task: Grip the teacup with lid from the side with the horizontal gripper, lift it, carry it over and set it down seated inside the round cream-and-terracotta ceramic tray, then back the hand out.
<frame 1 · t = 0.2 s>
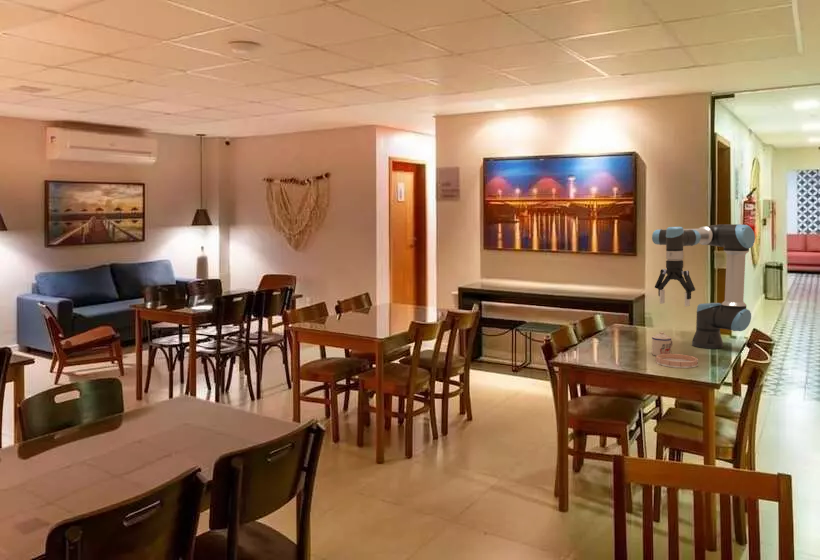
hand: (674, 304, 316), 27 cm above the table, tool pointing down, fingers open, 13 cm apart
teacup with lid: (663, 355, 333), on the table
round tray: (676, 363, 314), on the table
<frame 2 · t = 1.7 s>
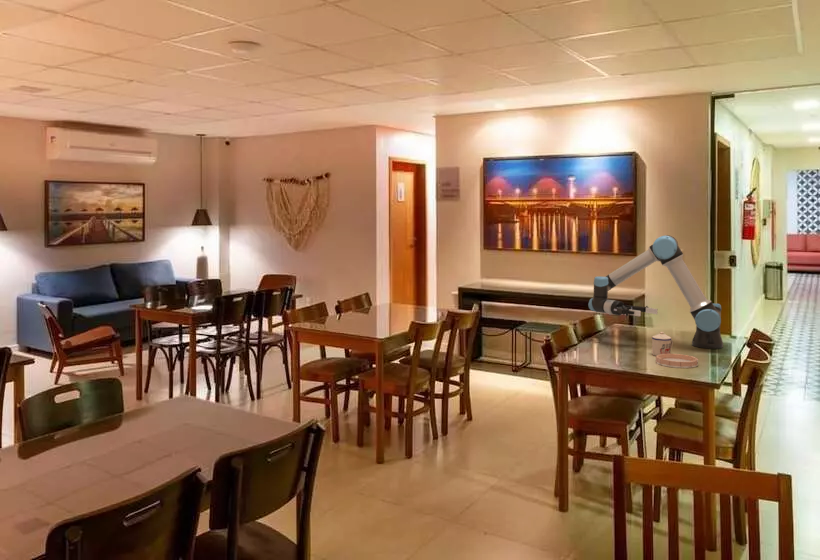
hand: (648, 312, 339), 20 cm above the table, tool horizontal, fingers open, 13 cm apart
nothing on the table moved.
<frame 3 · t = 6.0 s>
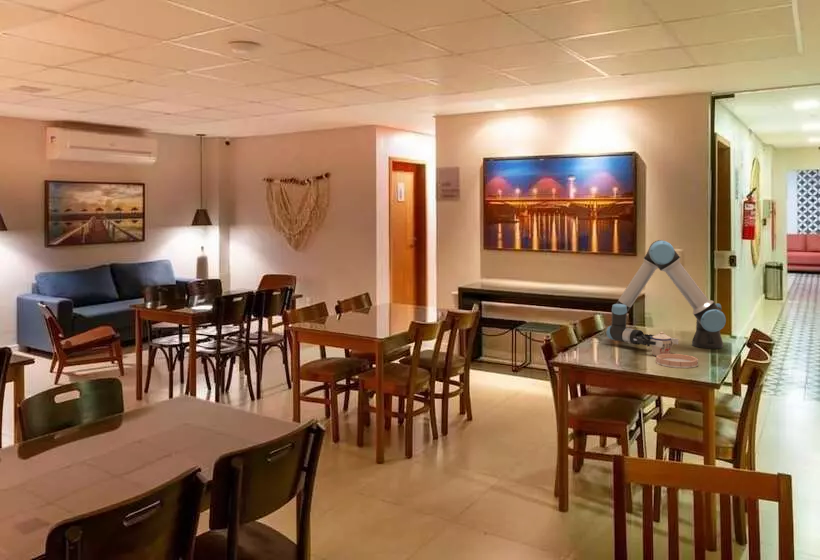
hand: (670, 343, 330), 6 cm above the table, tool horizontal, fingers closed on teacup with lid, 12 cm apart
teacup with lid: (663, 355, 333), on the table, touching gripper
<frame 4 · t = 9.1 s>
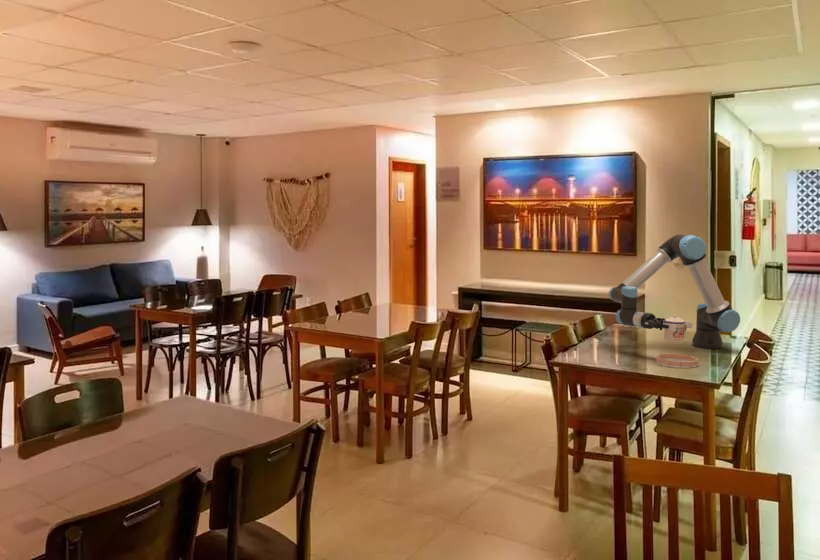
hand: (684, 326, 309), 18 cm above the table, tool horizontal, fingers closed on teacup with lid, 12 cm apart
teacup with lid: (676, 339, 313), point 11 cm above the table, touching gripper
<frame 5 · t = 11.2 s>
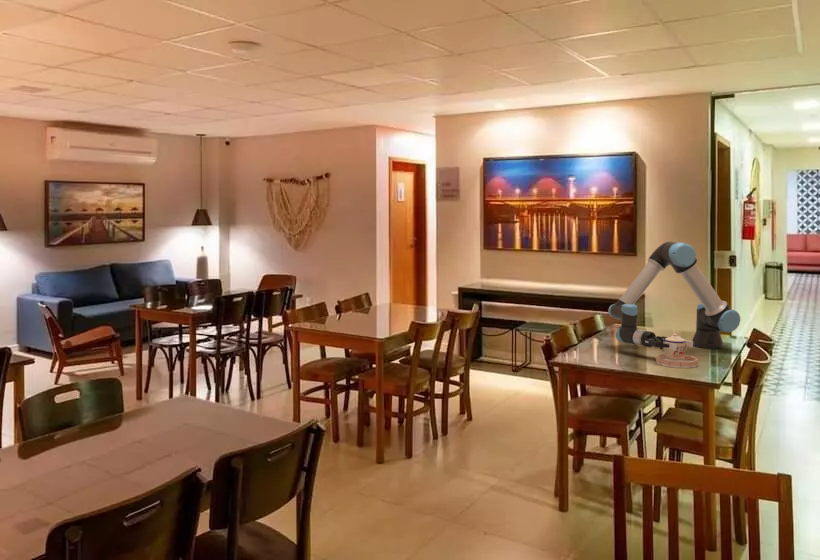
hand: (684, 345, 310), 9 cm above the table, tool horizontal, fingers closed on teacup with lid, 12 cm apart
teacup with lid: (676, 358, 313), point 2 cm above the table, touching gripper
when the fingers open (9 cm above the table, at t = 12.0 s): teacup with lid drops 1 cm, resting on round tray.
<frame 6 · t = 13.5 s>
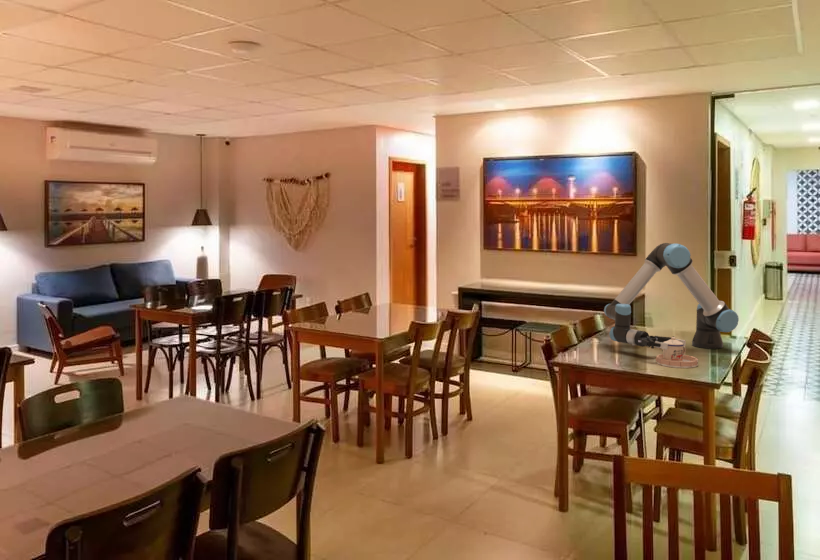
hand: (676, 344, 313), 9 cm above the table, tool horizontal, fingers open, 13 cm apart
teacup with lid: (675, 362, 313), point 1 cm above the table, touching round tray
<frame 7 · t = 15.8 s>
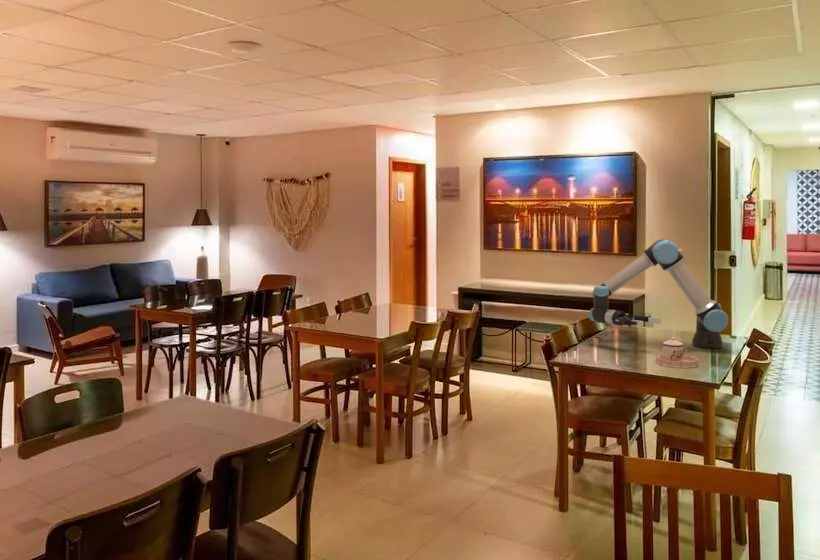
hand: (651, 322, 328), 17 cm above the table, tool horizontal, fingers open, 13 cm apart
nothing on the table moved.
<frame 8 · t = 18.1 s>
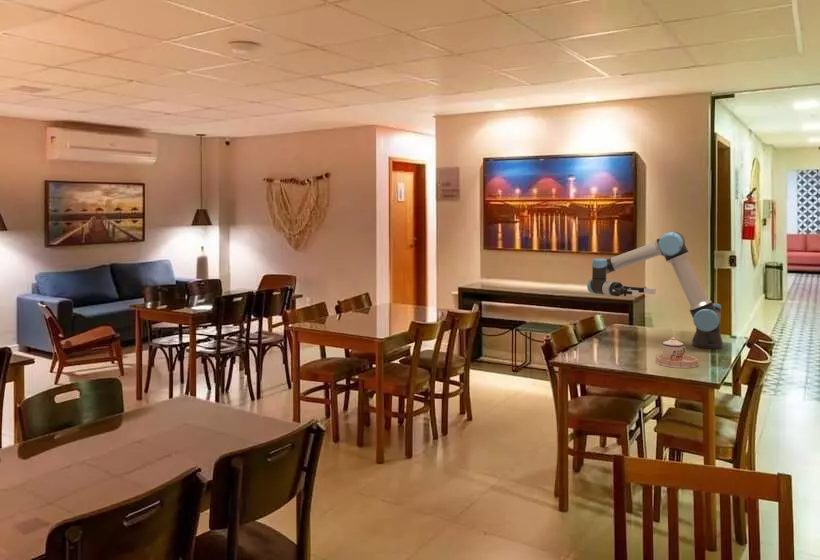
hand: (646, 292, 341), 30 cm above the table, tool horizontal, fingers open, 13 cm apart
nothing on the table moved.
at the end: teacup with lid inside the target area on the round tray (1.0 cm from its centre), point 0.6 cm above the round tray's base; teacup with lid tilted 0°; the gripper is holding nothing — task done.
